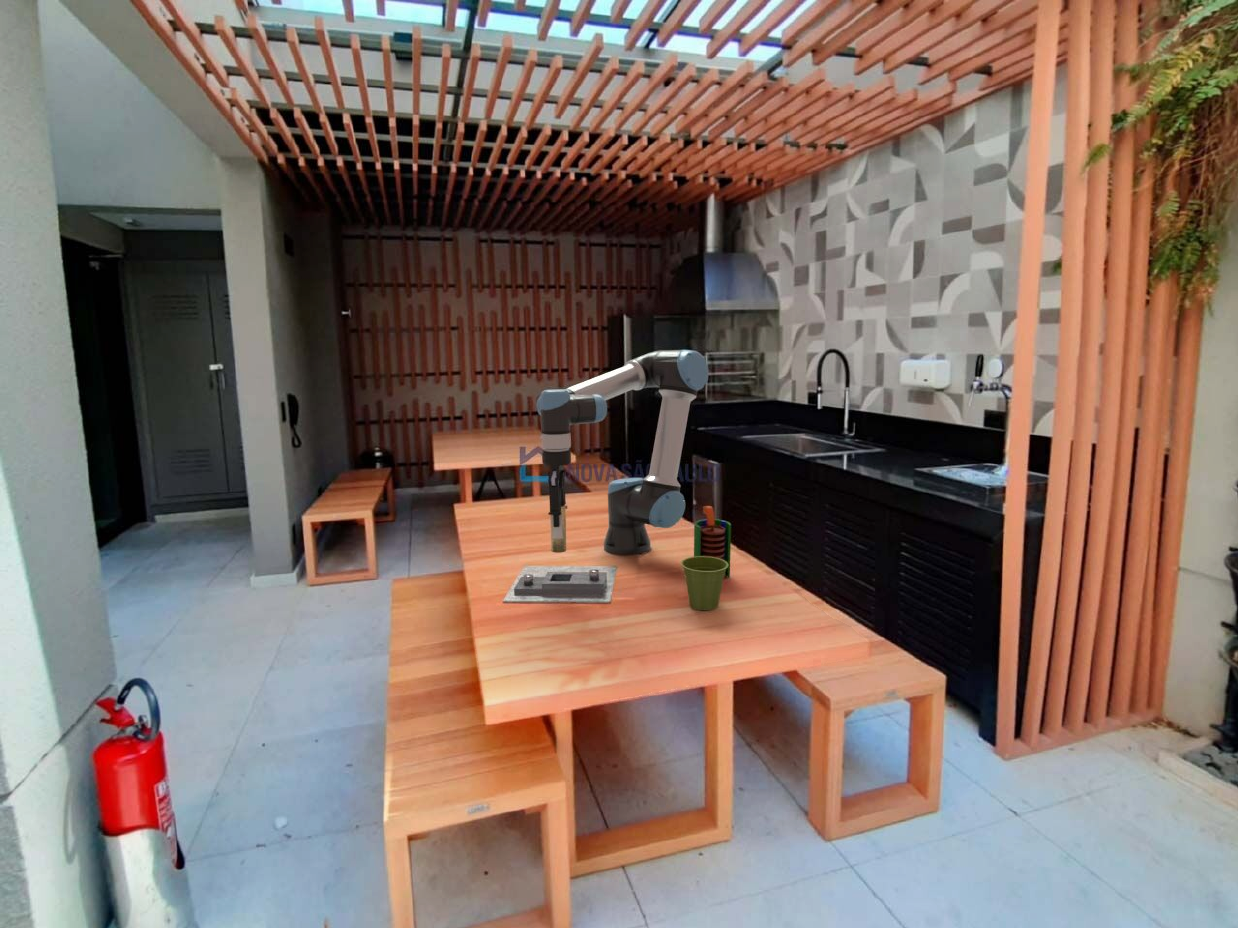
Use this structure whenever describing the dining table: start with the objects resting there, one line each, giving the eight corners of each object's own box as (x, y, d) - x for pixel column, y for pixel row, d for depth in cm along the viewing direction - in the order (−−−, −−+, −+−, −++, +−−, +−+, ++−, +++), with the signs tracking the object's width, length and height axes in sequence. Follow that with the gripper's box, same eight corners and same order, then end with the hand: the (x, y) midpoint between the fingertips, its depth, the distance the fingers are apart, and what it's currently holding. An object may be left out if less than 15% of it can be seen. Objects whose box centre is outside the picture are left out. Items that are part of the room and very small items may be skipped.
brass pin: (567, 548, 179) (566, 505, 177) (565, 552, 175) (564, 508, 173) (552, 548, 179) (551, 505, 177) (550, 552, 175) (548, 508, 173)
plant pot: (716, 618, 159) (716, 574, 157) (672, 609, 165) (672, 566, 163) (735, 602, 169) (735, 560, 167) (693, 593, 175) (693, 553, 173)
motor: (704, 584, 181) (705, 514, 178) (686, 575, 189) (686, 507, 185) (734, 578, 186) (735, 509, 182) (715, 568, 194) (716, 502, 190)
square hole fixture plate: (617, 567, 196) (617, 550, 195) (610, 603, 170) (609, 582, 169) (524, 567, 198) (523, 549, 197) (502, 602, 171) (501, 582, 170)
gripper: (547, 444, 181) (550, 526, 185) (535, 454, 164) (539, 544, 168) (574, 444, 180) (576, 527, 184) (565, 454, 164) (568, 545, 168)
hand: (558, 535), depth 176 cm, fingers closed on brass pin, 4 cm apart
